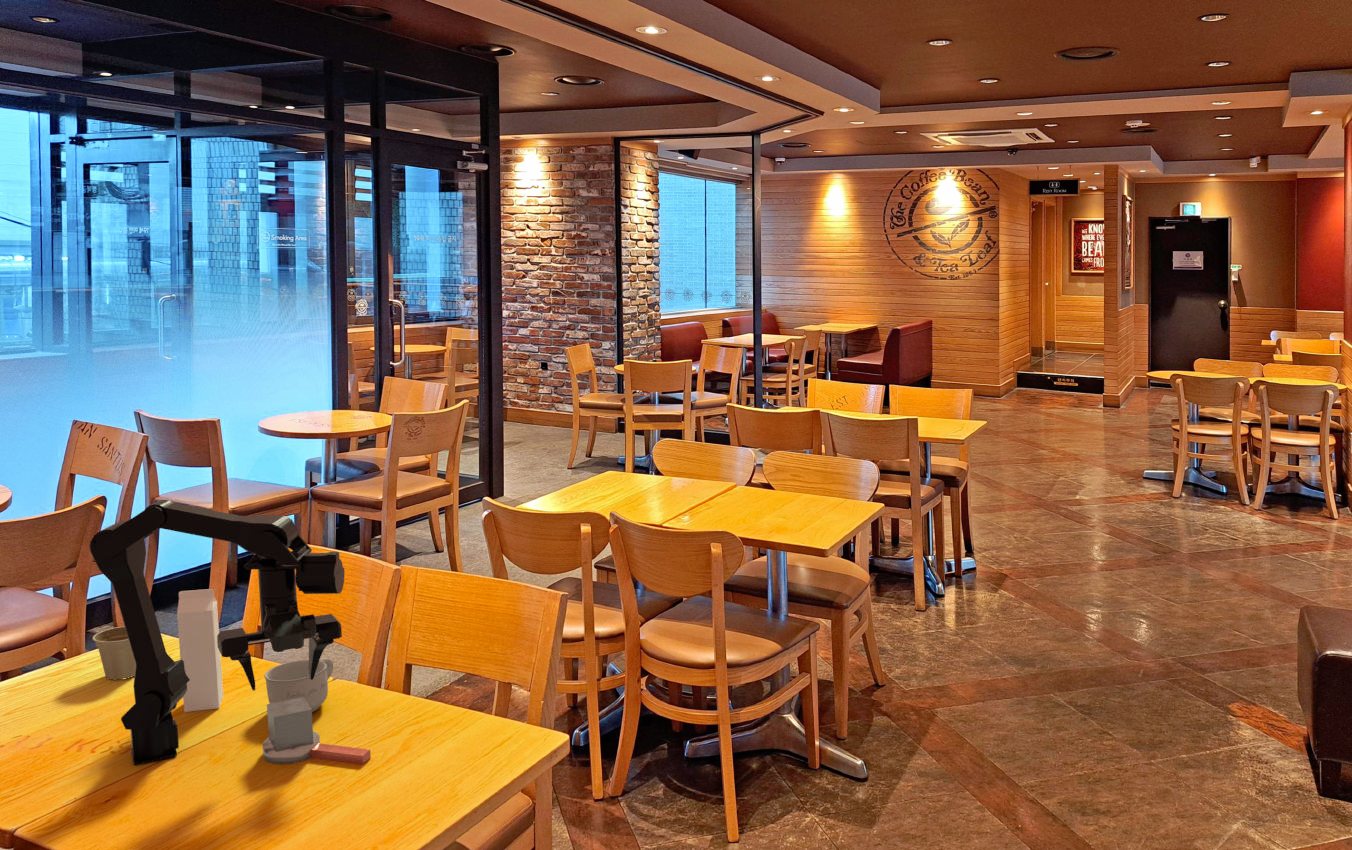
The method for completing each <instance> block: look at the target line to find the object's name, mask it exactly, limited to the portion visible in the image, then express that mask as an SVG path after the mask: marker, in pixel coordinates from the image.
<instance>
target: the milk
mask: <svg viewBox="0 0 1352 850" xmlns="http://www.w3.org/2000/svg"><path fill="white" fill-rule="evenodd" d="M177 604H178V606H177V611H176V612H177V613H176V615H177V616H176V617H177V618H176V619H177V628H178V630H177V632H178V642H179V658H180V659H179V660H181V659H182V660H183V662H184V668H185V673H186V675H187V677H188V678H189V679H190V681H189V682H187V691H186V693H185V695H184V696H183V698H182V699H183V700H182V701H183V711H184V713H189V712H190V713H191V712H198V711H209V710H217V709H220V706H221V703H222V702H223V697H224V688H223V687H224V685H223V673H222V672H223V671H222V659H221V657H222V655H221V653H220V651H219V649H218V644H217V635H218V634H219V633H220V629H219V628H220V627H219V615H218V614H219V612H218V601H217V599H216V597H215V591H214V589H212V588H207V589H196V590H195V589H194V590H193V589H192V590H181V591H178V603H177Z"/></svg>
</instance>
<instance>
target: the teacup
mask: <svg viewBox="0 0 1352 850" xmlns="http://www.w3.org/2000/svg"><path fill="white" fill-rule="evenodd" d="M333 672H334V663H333V661H332V659H331V658H329V657H320V660H319V663H318V666H317V669H316V672H315V675H314V679H313V680H311V679H310V677H309V659H301V660H292V661H288V662H284V663H281V664H277V665H275V666H273V667H271V668H269V669H268V670H267V671H265V673H264V679H265V683H266V684H265V685H266V692H267V694H266V695H267V699H268V704H272V703H277V702H282V701H287V700H292V699H297V698H302V697H304V698H305V700H306V701H307V703H308V704H309V706H310V708H311V709H312V713H313V712H315V711H316V710H318V709H319V708H320V707H321V705H322V704H323V703H324V702H325V701H326V699H327V697H328V695H329V693H328V692H329V685H328V684H329V682H328V681H329V680H330V677H331V676H332V673H333Z"/></svg>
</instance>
